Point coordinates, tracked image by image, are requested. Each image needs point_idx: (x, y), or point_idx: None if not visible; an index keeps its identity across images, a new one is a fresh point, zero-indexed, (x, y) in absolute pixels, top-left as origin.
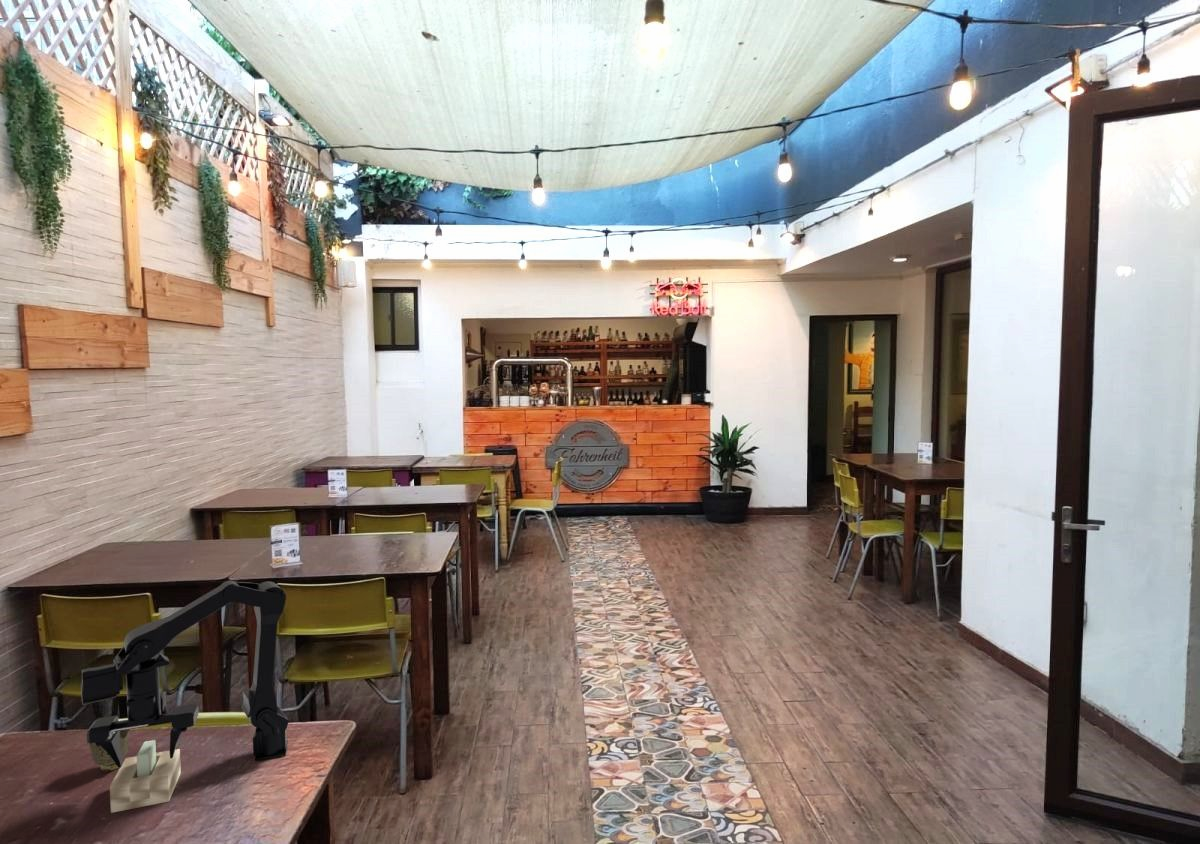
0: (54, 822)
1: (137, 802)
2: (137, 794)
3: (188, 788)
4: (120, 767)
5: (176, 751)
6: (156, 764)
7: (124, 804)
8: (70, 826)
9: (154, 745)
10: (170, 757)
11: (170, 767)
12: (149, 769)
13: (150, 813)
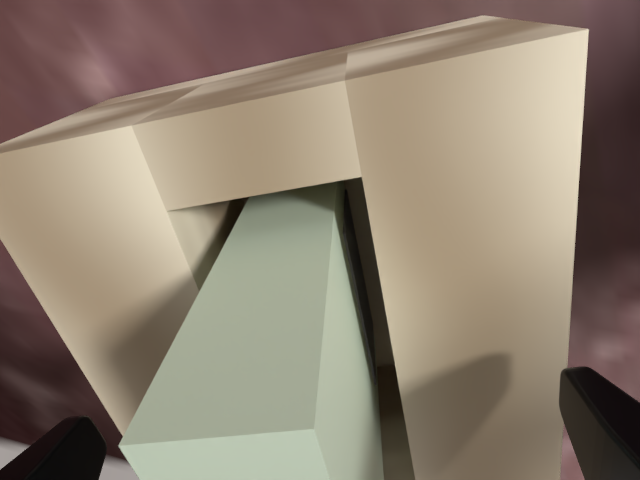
0: (11, 393)
1: None
2: None
3: (585, 252)
4: (103, 443)
5: (551, 111)
6: (397, 358)
7: None
8: (111, 428)
9: (334, 419)
10: (570, 431)
11: (552, 424)
12: (379, 454)
13: None
